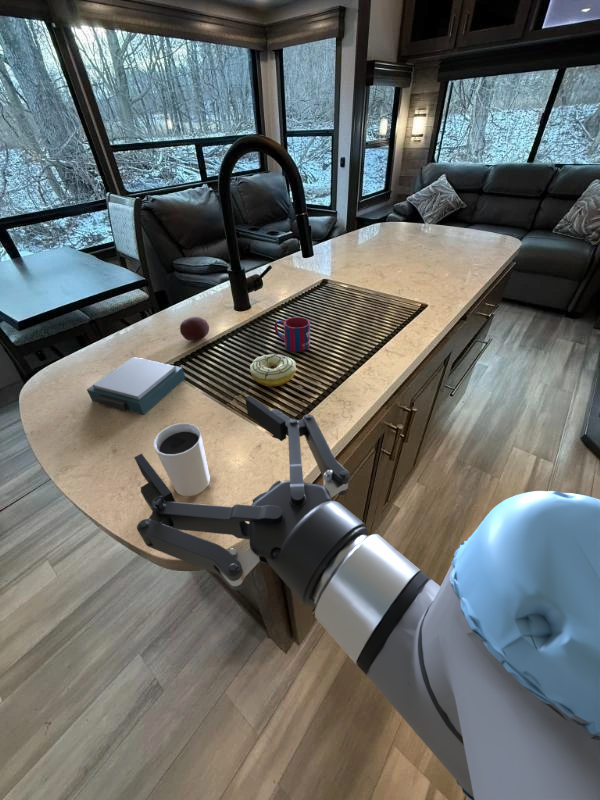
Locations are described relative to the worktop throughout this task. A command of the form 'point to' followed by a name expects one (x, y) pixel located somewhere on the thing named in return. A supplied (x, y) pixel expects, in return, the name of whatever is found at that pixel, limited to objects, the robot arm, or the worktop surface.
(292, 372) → the decorated donut
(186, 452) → the white coffee cup
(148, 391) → the scale
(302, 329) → the mug
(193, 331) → the plum
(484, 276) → the worktop surface
